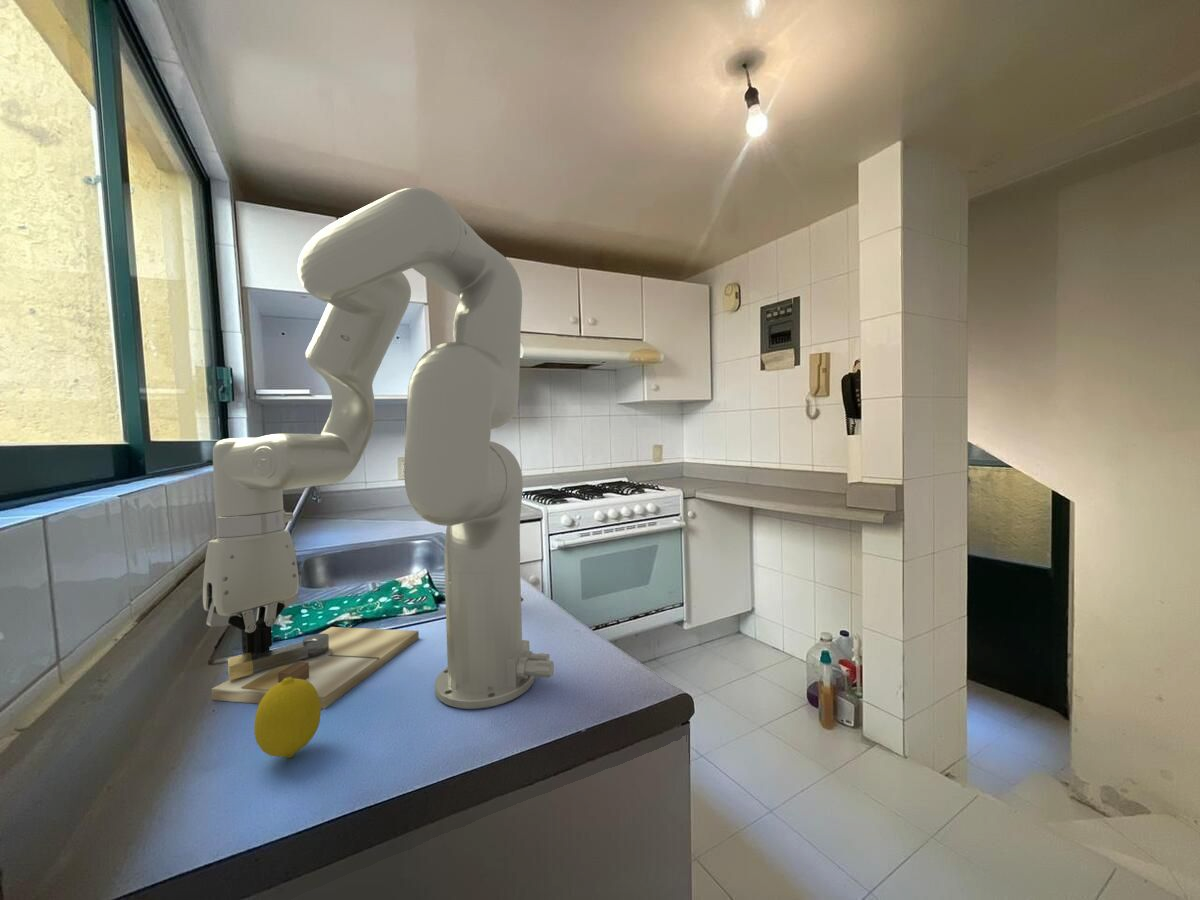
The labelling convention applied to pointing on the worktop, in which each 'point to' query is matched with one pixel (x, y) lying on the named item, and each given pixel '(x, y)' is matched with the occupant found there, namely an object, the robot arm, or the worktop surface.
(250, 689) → the board
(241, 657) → the lock bar
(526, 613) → the worktop surface
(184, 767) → the worktop surface
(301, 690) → the lemon
